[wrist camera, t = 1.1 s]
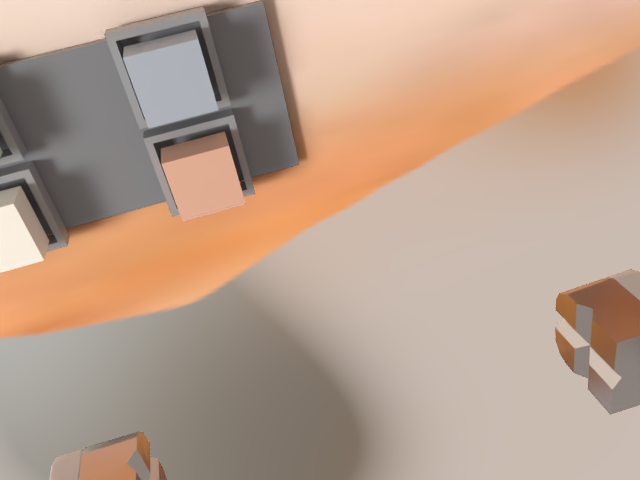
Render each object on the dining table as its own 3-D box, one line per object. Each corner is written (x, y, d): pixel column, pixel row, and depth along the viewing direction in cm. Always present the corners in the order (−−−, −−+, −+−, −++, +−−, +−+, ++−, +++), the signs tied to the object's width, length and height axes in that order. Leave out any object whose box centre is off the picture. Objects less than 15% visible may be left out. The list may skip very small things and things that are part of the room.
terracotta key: (160, 148, 41) (161, 163, 39) (224, 131, 42) (228, 145, 40) (180, 204, 44) (182, 221, 42) (240, 187, 44) (245, 204, 42)
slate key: (124, 46, 37) (122, 57, 35) (195, 29, 38) (198, 39, 36) (148, 114, 40) (148, 128, 38) (214, 97, 40) (218, 110, 38)
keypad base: (-184, 97, 37) (-201, 109, 35) (259, -11, 40) (264, -5, 38) (-68, 268, 44) (-77, 285, 42) (298, 167, 47) (304, 179, 45)
